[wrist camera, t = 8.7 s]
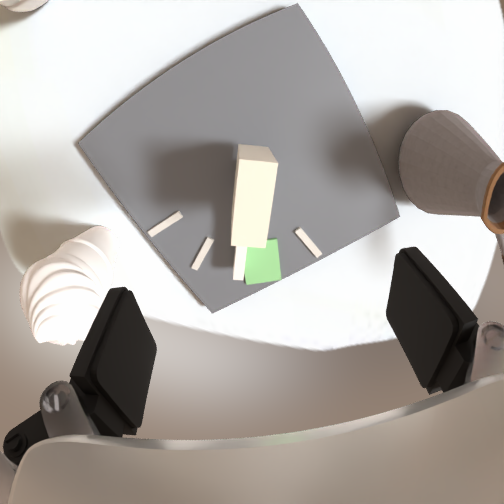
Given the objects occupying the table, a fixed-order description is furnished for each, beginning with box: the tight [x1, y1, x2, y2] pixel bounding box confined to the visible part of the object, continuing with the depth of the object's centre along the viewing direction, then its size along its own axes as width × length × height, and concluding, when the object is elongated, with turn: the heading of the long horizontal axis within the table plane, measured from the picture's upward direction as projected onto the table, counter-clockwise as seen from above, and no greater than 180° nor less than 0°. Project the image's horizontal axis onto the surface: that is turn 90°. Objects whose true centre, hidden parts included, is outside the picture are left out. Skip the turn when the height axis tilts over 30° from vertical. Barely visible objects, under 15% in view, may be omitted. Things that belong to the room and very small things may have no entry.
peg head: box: [231, 144, 278, 280], centre depth 24 cm, size 13×2×8 cm, turn 174°
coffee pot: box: [399, 110, 504, 263], centre depth 23 cm, size 21×12×15 cm, turn 34°
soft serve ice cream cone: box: [20, 226, 119, 345], centre depth 24 cm, size 8×8×16 cm
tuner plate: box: [78, 3, 400, 313], centre depth 27 cm, size 24×24×2 cm
